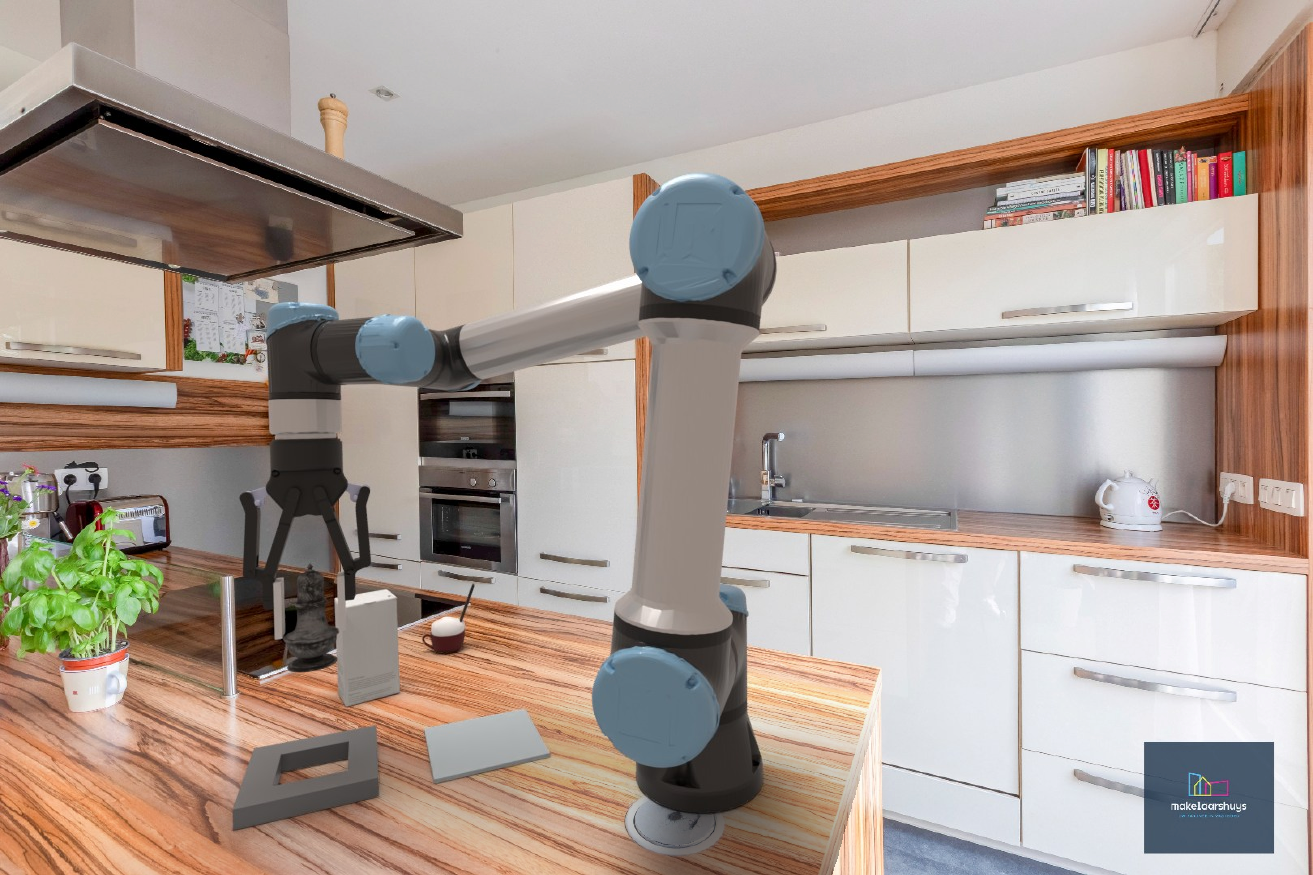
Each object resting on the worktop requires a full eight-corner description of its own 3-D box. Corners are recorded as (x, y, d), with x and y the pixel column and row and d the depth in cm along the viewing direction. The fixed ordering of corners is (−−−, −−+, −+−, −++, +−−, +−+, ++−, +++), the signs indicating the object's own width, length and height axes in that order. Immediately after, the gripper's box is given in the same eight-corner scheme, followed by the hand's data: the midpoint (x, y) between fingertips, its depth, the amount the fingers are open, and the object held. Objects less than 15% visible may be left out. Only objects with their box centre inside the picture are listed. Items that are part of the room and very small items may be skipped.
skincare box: (391, 680, 105) (389, 587, 105) (401, 694, 100) (399, 596, 99) (335, 694, 100) (333, 596, 100) (343, 708, 95) (341, 605, 94)
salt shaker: (277, 676, 72) (274, 570, 71) (292, 658, 77) (289, 560, 77) (334, 669, 73) (331, 566, 73) (345, 652, 79) (342, 556, 79)
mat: (550, 756, 80) (550, 752, 80) (434, 783, 75) (434, 779, 75) (525, 711, 93) (525, 708, 93) (424, 731, 87) (424, 728, 87)
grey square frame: (378, 796, 72) (378, 777, 72) (232, 830, 66) (232, 809, 66) (376, 741, 85) (376, 724, 85) (254, 765, 79) (254, 748, 79)
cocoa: (419, 657, 117) (414, 593, 116) (434, 644, 123) (430, 583, 122) (469, 656, 116) (464, 592, 115) (482, 643, 122) (477, 582, 121)
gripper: (391, 435, 82) (396, 612, 82) (218, 438, 74) (223, 634, 75) (394, 435, 75) (398, 628, 76) (203, 439, 67) (209, 654, 68)
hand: (311, 631), depth 75 cm, fingers closed on salt shaker, 6 cm apart
